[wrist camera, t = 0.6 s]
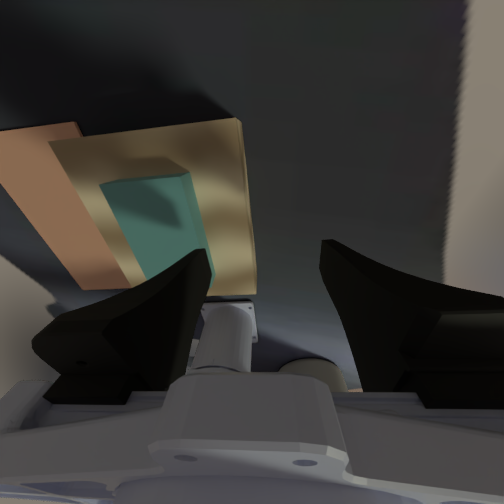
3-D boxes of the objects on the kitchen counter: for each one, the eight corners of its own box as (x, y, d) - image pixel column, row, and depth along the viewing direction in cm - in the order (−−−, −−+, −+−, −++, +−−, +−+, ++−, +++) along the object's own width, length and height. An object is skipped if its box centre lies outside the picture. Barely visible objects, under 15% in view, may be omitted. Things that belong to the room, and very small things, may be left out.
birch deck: (257, 272, 24) (256, 294, 20) (155, 277, 25) (138, 298, 22) (241, 122, 16) (235, 117, 12) (90, 141, 17) (47, 141, 13)
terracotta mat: (155, 285, 26) (154, 286, 26) (84, 288, 27) (82, 290, 27) (76, 121, 16) (73, 121, 16) (-31, 136, 17) (-36, 136, 17)
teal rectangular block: (215, 274, 19) (211, 287, 18) (161, 277, 20) (152, 290, 18) (189, 172, 14) (180, 176, 12) (117, 179, 15) (98, 184, 13)
